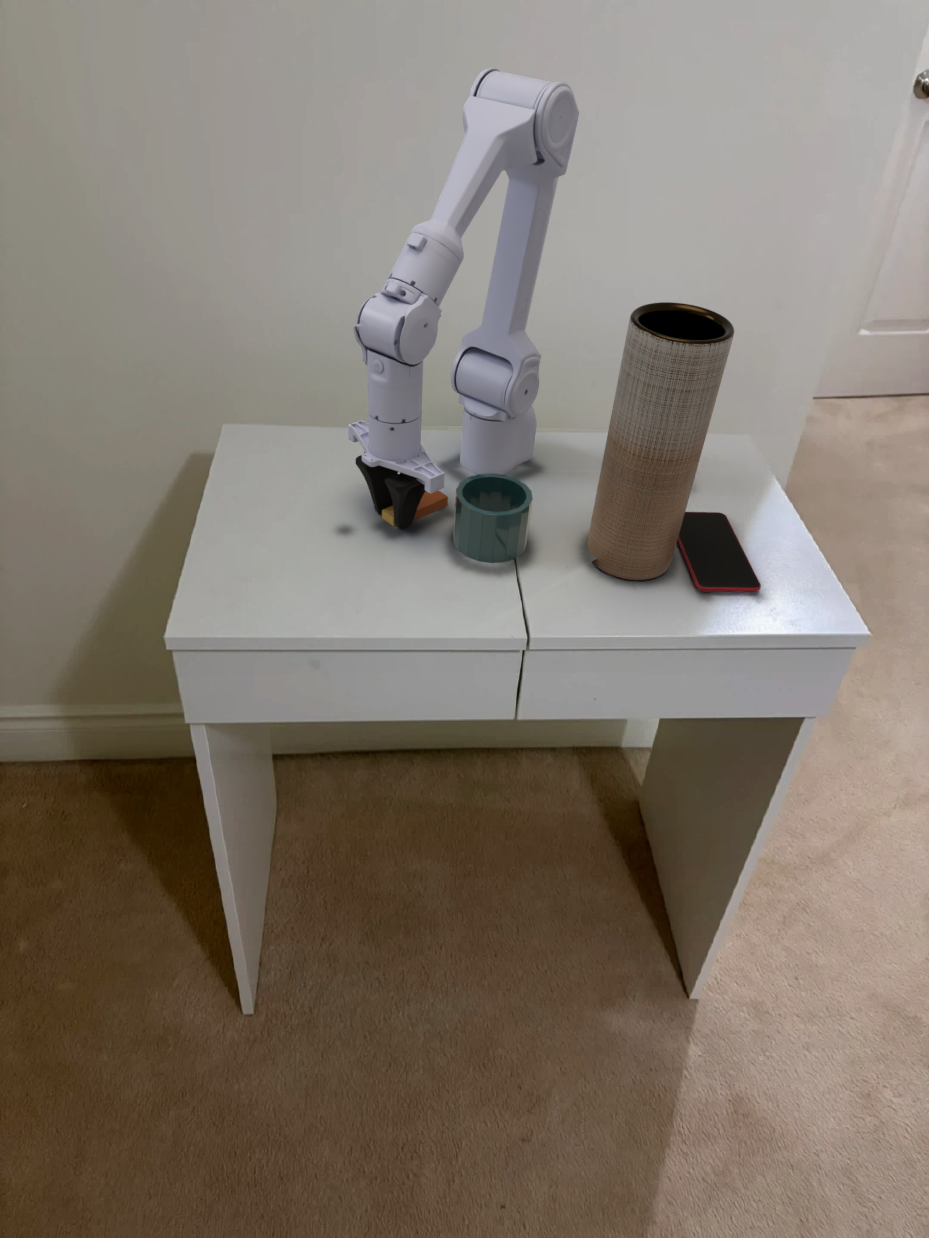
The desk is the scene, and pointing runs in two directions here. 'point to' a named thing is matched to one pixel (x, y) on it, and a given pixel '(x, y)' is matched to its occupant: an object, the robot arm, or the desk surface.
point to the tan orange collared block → (420, 506)
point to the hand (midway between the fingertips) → (394, 517)
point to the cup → (492, 517)
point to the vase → (656, 435)
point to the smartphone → (715, 554)
